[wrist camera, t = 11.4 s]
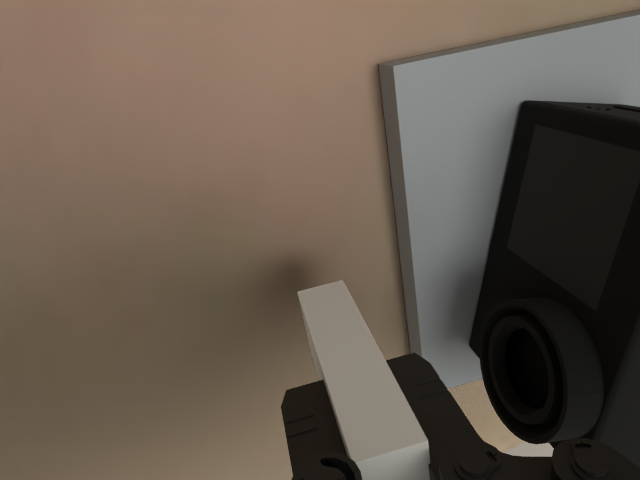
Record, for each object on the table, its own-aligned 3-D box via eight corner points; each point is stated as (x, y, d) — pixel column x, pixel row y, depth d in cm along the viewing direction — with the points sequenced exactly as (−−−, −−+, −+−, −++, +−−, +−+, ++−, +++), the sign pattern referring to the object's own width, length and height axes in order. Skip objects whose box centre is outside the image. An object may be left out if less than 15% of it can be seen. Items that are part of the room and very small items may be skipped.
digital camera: (489, 94, 16) (671, 130, 9) (623, 100, 17) (865, 136, 11) (440, 348, 20) (546, 492, 13) (551, 339, 21) (697, 468, 15)
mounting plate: (413, 373, 22) (425, 395, 21) (378, 63, 16) (393, 66, 15) (738, 278, 24) (769, 292, 23) (814, -27, 18) (862, -32, 17)
